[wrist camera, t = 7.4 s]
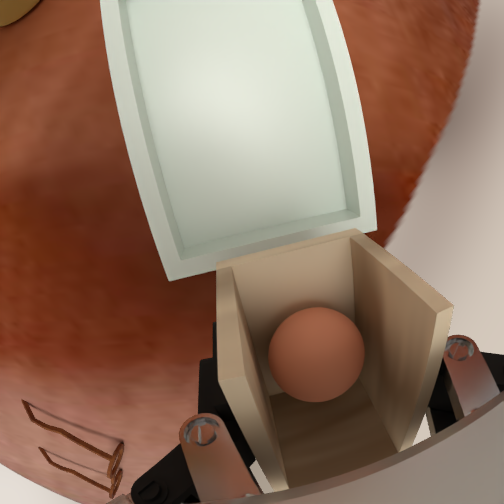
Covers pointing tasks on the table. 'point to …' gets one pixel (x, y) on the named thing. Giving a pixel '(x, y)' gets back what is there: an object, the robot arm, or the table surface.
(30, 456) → the table surface
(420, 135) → the table surface
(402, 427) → the beige open holder
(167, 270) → the tray
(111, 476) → the glasses
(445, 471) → the robot arm
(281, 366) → the ball
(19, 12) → the paper tube
